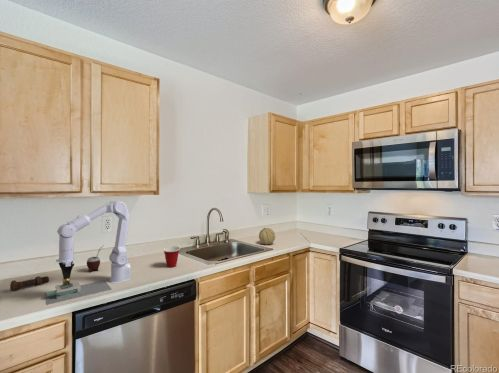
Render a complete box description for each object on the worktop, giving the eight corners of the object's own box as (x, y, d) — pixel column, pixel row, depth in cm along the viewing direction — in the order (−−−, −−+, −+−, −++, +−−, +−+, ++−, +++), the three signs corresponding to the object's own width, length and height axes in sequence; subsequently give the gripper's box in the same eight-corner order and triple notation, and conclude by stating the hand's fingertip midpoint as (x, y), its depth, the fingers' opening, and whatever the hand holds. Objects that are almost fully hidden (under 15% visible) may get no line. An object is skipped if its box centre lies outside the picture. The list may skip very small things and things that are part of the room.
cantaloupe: (278, 245, 230) (278, 228, 230) (265, 247, 222) (265, 229, 222) (268, 241, 242) (268, 225, 242) (255, 243, 234) (255, 227, 234)
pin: (69, 282, 126) (70, 261, 126) (70, 284, 124) (71, 263, 124) (62, 283, 124) (62, 262, 124) (62, 285, 122) (63, 264, 122)
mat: (104, 281, 142) (104, 280, 142) (111, 290, 130) (111, 289, 130) (44, 293, 125) (44, 292, 125) (46, 306, 113) (46, 304, 113)
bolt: (48, 286, 139) (11, 294, 127) (46, 279, 142) (9, 287, 130) (51, 278, 138) (13, 286, 125) (48, 271, 140) (11, 278, 128)
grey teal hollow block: (78, 288, 131) (78, 281, 131) (80, 293, 125) (80, 285, 125) (46, 295, 122) (46, 287, 122) (47, 301, 116) (47, 292, 116)
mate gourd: (83, 272, 155) (84, 247, 155) (93, 268, 163) (93, 244, 163) (95, 273, 154) (95, 248, 154) (104, 268, 162) (104, 245, 162)
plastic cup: (160, 269, 163) (160, 250, 163) (165, 263, 174) (165, 245, 173) (177, 269, 163) (178, 250, 163) (181, 263, 174) (181, 246, 174)
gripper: (54, 247, 127) (54, 275, 127) (57, 254, 116) (57, 284, 116) (72, 245, 131) (72, 272, 132) (76, 251, 121) (76, 280, 121)
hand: (66, 277), depth 124 cm, fingers closed on pin, 3 cm apart
